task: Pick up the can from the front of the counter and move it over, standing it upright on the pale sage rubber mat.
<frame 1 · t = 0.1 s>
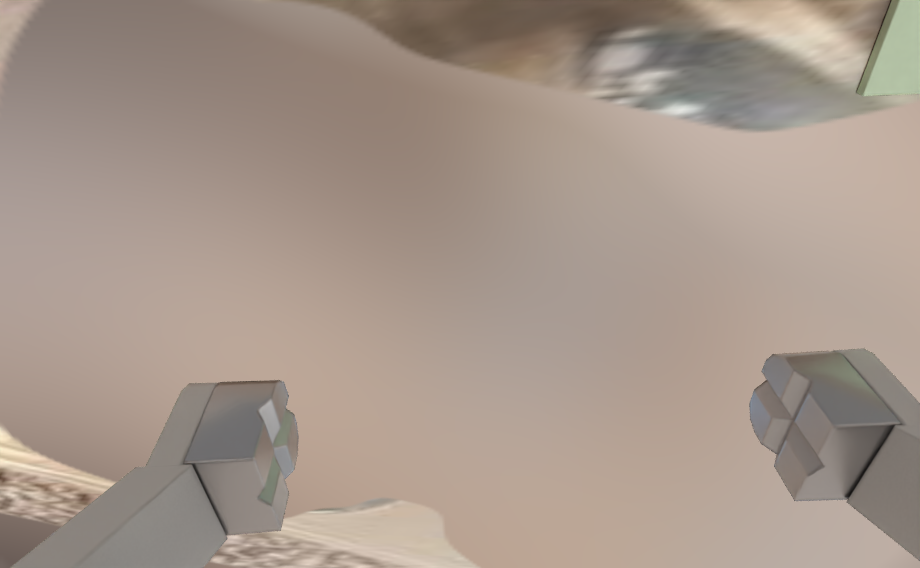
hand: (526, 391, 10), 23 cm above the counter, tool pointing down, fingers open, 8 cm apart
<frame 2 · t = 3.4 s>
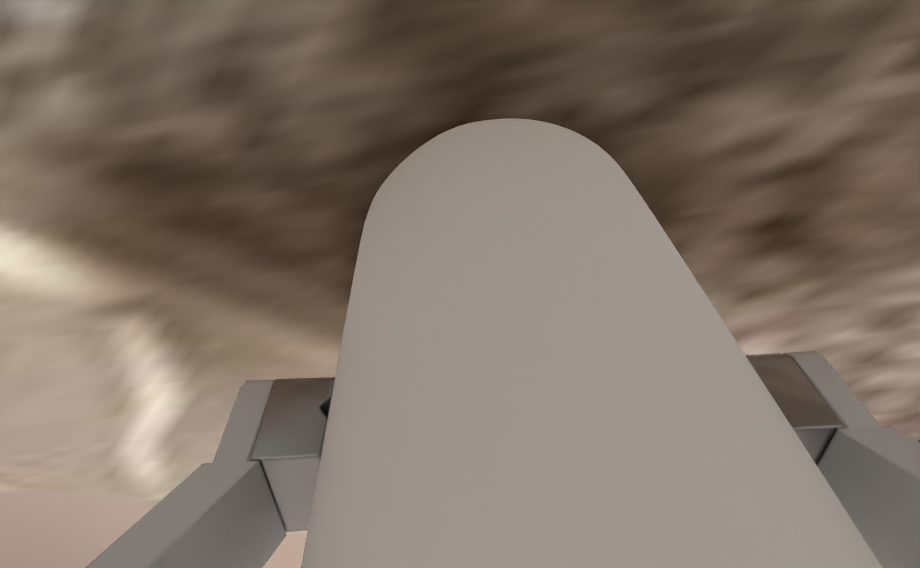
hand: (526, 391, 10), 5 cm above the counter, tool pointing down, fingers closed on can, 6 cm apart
can: (499, 239, 14), on the counter, touching gripper
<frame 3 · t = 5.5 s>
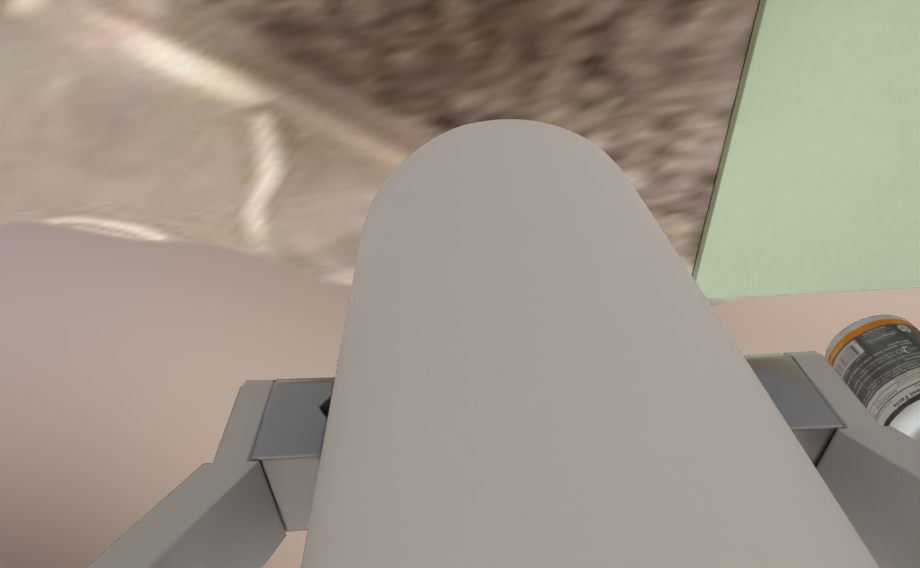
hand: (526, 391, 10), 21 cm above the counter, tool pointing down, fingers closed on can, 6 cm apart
mat: (896, 130, 30), on the counter
can: (499, 240, 14), point 16 cm above the counter, touching gripper
pill bottle: (862, 342, 39), on the counter
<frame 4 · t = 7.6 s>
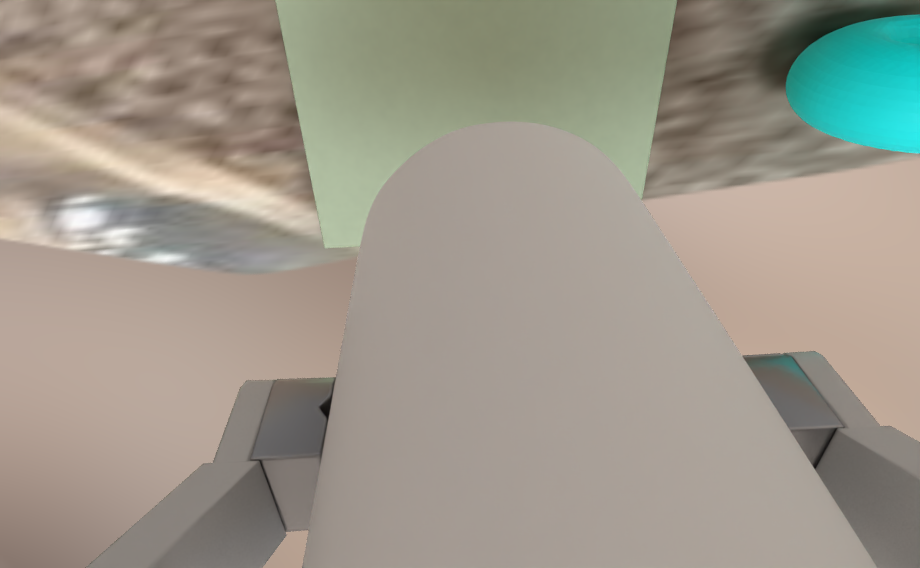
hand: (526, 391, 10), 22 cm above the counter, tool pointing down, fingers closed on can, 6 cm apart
mat: (478, 57, 28), on the counter
can: (499, 242, 14), point 17 cm above the counter, touching gripper
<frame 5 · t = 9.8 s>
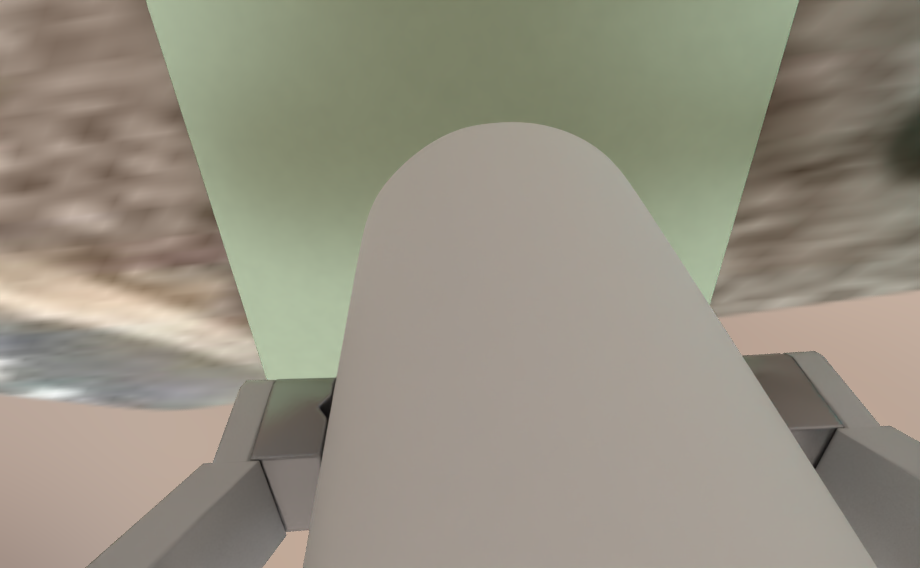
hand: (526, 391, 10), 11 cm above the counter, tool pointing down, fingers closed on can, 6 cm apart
mat: (479, 141, 19), on the counter
can: (499, 242, 14), point 6 cm above the counter, touching gripper
when the fingers open (5 cm above the counter, at t = 11.7 s): can stays where it is, resting on mat.
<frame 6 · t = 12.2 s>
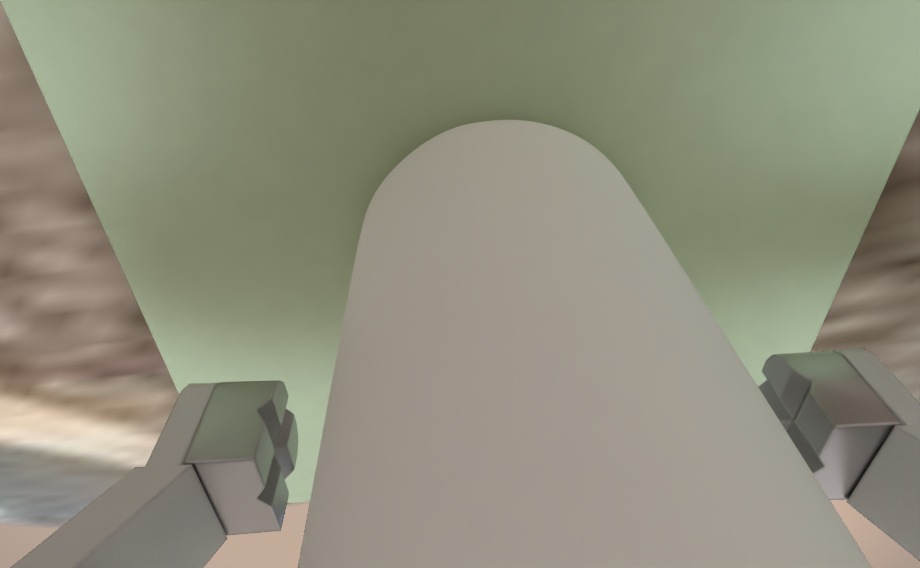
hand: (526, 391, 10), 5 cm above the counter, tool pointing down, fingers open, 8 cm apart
mat: (495, 230, 14), on the counter
can: (496, 239, 14), resting on mat
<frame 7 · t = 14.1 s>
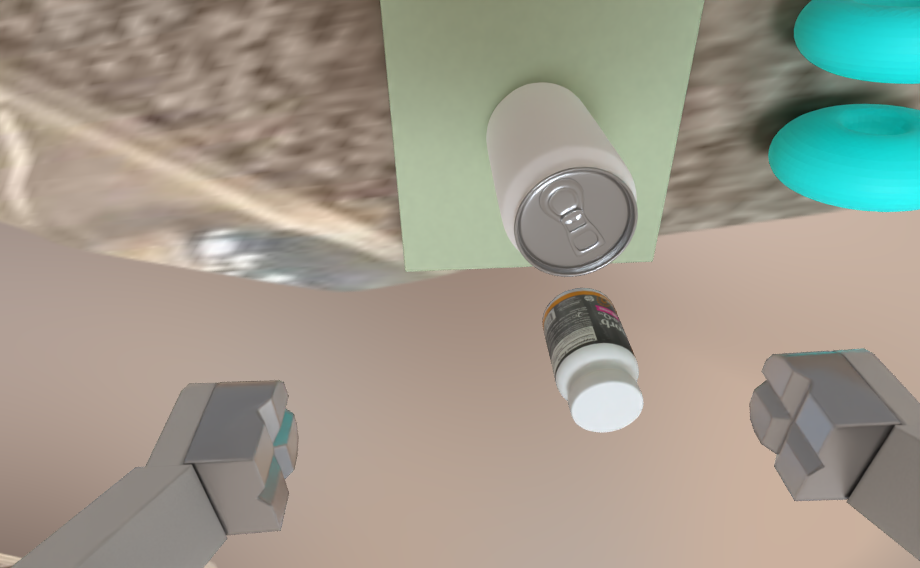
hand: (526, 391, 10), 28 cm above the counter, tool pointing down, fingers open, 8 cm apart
mat: (535, 129, 36), on the counter
donuts: (830, 69, 35), on the counter
can: (536, 131, 36), resting on mat
pill bottle: (576, 312, 45), on the counter
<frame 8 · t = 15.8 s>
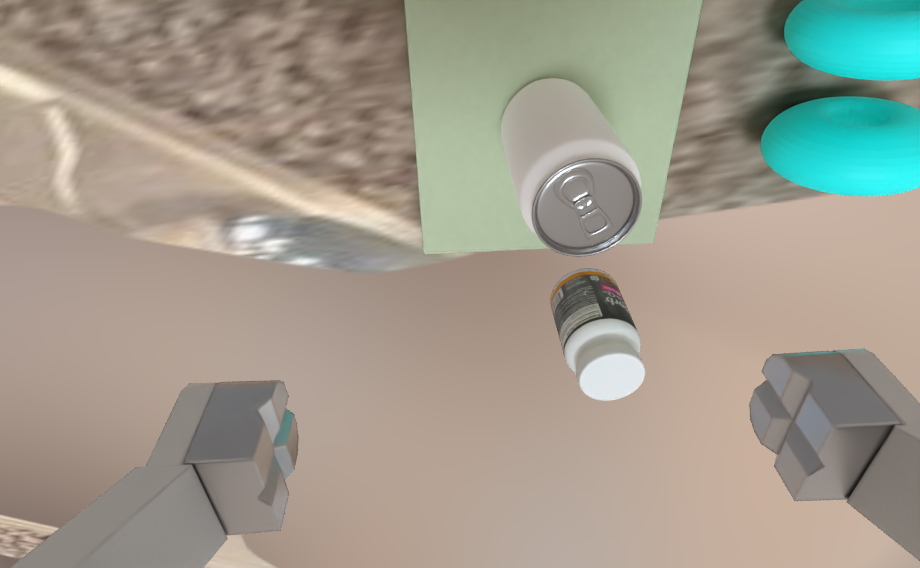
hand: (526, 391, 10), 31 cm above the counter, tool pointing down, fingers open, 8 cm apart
mat: (545, 121, 39), on the counter
donuts: (818, 64, 38), on the counter
can: (546, 123, 39), resting on mat
pill bottle: (581, 291, 48), on the counter
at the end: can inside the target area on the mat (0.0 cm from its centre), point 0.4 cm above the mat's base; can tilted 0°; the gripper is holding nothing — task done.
